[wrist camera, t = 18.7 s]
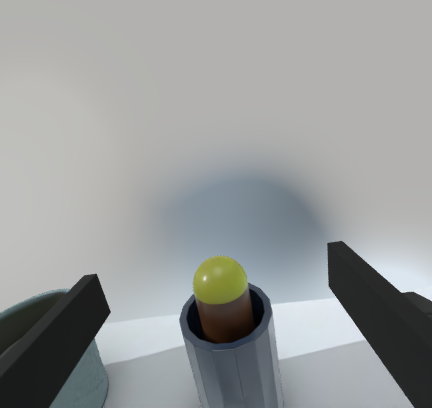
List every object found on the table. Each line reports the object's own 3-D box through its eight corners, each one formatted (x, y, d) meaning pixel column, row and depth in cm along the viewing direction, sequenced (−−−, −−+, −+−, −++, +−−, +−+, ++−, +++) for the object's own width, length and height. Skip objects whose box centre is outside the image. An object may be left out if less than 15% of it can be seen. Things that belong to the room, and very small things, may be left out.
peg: (253, 374, 24) (230, 241, 20) (275, 418, 20) (254, 264, 16) (215, 392, 23) (183, 256, 19) (231, 443, 19) (195, 285, 15)
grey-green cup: (130, 366, 28) (101, 286, 25) (68, 484, 19) (7, 381, 16) (64, 363, 30) (29, 289, 27) (-22, 467, 21) (-92, 374, 18)
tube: (258, 358, 27) (245, 271, 23) (301, 433, 20) (291, 323, 16) (197, 388, 25) (173, 297, 21) (221, 482, 18) (190, 369, 14)
